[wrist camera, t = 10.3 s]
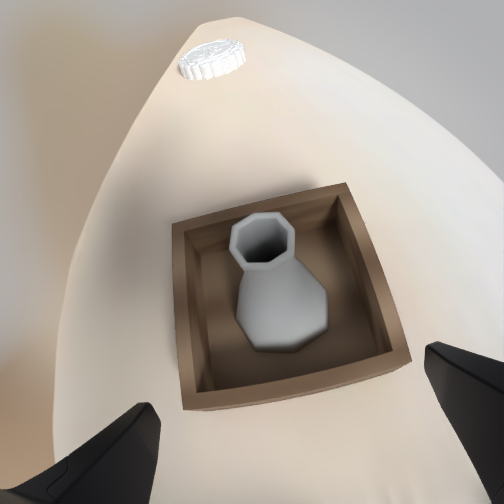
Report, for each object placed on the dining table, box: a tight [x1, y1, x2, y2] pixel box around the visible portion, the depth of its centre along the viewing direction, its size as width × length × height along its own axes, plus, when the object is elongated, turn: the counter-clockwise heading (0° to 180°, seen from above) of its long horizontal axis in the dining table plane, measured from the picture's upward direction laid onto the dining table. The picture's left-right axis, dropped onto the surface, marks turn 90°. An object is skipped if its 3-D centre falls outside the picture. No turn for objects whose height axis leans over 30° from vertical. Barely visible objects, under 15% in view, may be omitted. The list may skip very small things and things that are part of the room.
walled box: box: [172, 182, 412, 411], centre depth 21 cm, size 14×14×5 cm
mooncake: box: [178, 39, 246, 80], centre depth 46 cm, size 12×12×4 cm
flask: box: [229, 212, 328, 352], centre depth 19 cm, size 7×7×10 cm
